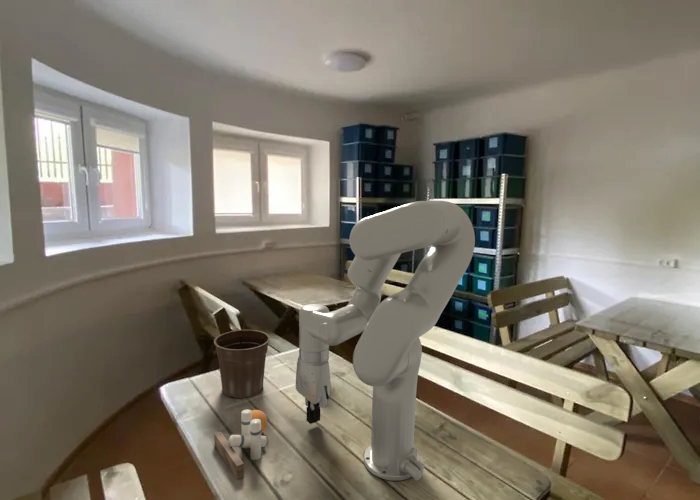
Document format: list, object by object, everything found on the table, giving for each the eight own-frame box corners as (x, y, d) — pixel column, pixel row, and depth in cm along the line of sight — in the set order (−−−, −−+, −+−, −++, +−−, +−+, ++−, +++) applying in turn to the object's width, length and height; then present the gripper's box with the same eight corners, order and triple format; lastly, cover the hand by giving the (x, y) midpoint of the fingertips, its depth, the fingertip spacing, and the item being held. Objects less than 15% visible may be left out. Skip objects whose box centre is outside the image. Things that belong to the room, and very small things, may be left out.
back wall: (244, 476, 84) (243, 463, 84) (237, 479, 84) (236, 466, 83) (220, 442, 95) (220, 431, 95) (214, 445, 95) (214, 433, 94)
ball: (257, 440, 94) (270, 415, 97) (235, 427, 95) (249, 403, 98) (259, 441, 100) (272, 418, 102) (239, 429, 100) (253, 407, 103)
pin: (253, 446, 95) (253, 412, 93) (244, 449, 93) (243, 416, 92) (249, 440, 96) (249, 408, 95) (240, 444, 95) (239, 411, 94)
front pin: (268, 438, 94) (235, 437, 89) (264, 449, 93) (231, 448, 88) (263, 433, 96) (231, 432, 91) (260, 443, 95) (227, 443, 90)
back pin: (263, 457, 91) (262, 422, 89) (253, 461, 89) (252, 426, 88) (258, 451, 93) (258, 417, 91) (248, 455, 91) (248, 421, 90)
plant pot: (280, 390, 121) (280, 340, 119) (230, 409, 110) (229, 353, 108) (253, 372, 133) (253, 326, 131) (206, 387, 122) (205, 337, 120)
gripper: (286, 347, 104) (286, 412, 106) (317, 367, 92) (316, 440, 95) (311, 341, 108) (310, 404, 111) (343, 360, 97) (342, 429, 99)
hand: (313, 420), depth 103 cm, fingers closed
